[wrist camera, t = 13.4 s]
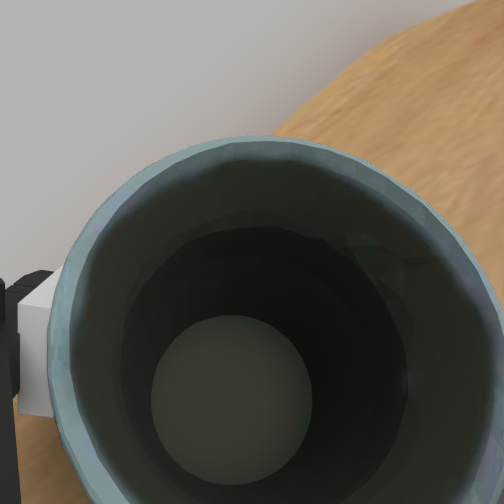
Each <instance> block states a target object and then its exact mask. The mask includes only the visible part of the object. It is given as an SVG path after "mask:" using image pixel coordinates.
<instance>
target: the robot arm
mask: <svg viewBox="0 0 504 504" xmlns="http://www.w3.org/2000/svg"><path fill="white" fill-rule="evenodd" d="M62 268H63V265H62V266H61V267H60V268H59V269H58V270H57V271H55V272H51V271H45V270H39V271H36V272H33V273H30V274H28V275H24V276H23V277H22V278H20V279H19V280H18V281H16V282H15V283H14V285H11V286H10V287H8V288H7V289H6V290H5V283H4V281H3V280H2V279H1V278H0V504H21V494H20V482H19V471H18V459H17V447H16V436H15V424H14V412H13V401H12V399H13V398H14V397H15V396H16V394H17V393H18V413H19V414H27V415H35V416H43V417H51V418H53V417H54V413H53V409H52V406H51V402H50V394H49V386H48V379H47V327H48V322H49V317H50V312H51V307H52V302H53V296H54V291H55V288H56V285H57V282H58V279H59V277H60V274H61V271H62Z"/></svg>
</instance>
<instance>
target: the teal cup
mask: <svg viewBox="0 0 504 504" xmlns="http://www.w3.org/2000/svg"><path fill="white" fill-rule="evenodd" d="M47 379H48V386H49V394H50V402H51V406H52V409H53V413H54V417H55V420H56V424H57V428H58V431H59V435H60V439H61V442H62V446H63V448H64V450H65V452H66V454H67V456H68V458H69V460H70V462H71V464H72V466H73V468H74V470H75V472H76V474H77V476H78V478H79V480H80V482H81V484H82V486H83V488H84V490H85V492H86V494H87V496H88V498H89V499H90V501H91V502H92V503H93V504H496V503H497V501H498V499H499V497H500V495H501V493H502V491H503V489H504V313H503V310H502V308H501V306H500V303H499V301H498V299H497V296H496V294H495V292H494V290H493V287H492V285H491V283H490V281H489V279H488V277H487V276H486V274H485V273H484V271H483V269H482V268H481V266H480V265H479V263H478V261H477V260H476V258H475V257H474V255H473V253H472V252H471V250H470V248H469V247H468V245H467V244H466V242H465V241H464V240H463V239H462V238H461V237H460V236H459V235H458V233H457V232H456V231H455V230H454V229H453V228H452V227H451V226H450V225H449V224H448V222H447V221H446V220H445V219H444V218H443V217H442V216H441V215H440V214H439V212H438V211H436V210H435V209H434V208H433V207H432V206H431V205H429V204H428V203H427V202H426V201H425V200H424V199H422V198H421V197H420V196H419V195H418V194H417V193H416V192H414V191H413V190H411V189H410V188H408V187H406V186H405V185H403V184H402V183H400V182H399V181H397V180H395V179H394V178H392V177H391V176H389V175H388V174H386V173H384V172H383V171H381V170H380V169H378V168H377V167H375V166H373V165H372V164H370V163H369V162H367V161H364V160H362V159H359V158H357V157H355V156H352V155H350V154H347V153H345V152H342V151H340V150H337V149H335V148H332V147H330V146H326V145H322V144H318V143H314V142H310V141H306V140H302V139H294V138H285V137H277V136H243V137H232V138H226V139H219V140H214V141H209V142H205V143H202V144H198V145H194V146H191V147H188V148H186V149H184V150H181V151H179V152H176V153H174V154H171V155H169V156H167V157H165V158H163V159H161V160H159V161H157V162H155V163H153V164H151V165H150V166H148V167H146V168H145V169H143V170H142V171H140V172H139V173H137V174H136V175H134V176H133V177H132V178H131V179H129V180H128V181H127V182H126V183H125V184H124V185H122V186H121V187H120V188H119V189H118V190H117V191H116V192H114V193H113V194H112V195H111V196H110V197H108V198H107V199H106V201H105V202H104V203H103V204H102V205H101V206H100V207H99V208H98V209H97V210H96V211H95V213H94V214H93V215H92V217H91V218H90V220H89V221H88V222H87V224H86V226H85V227H84V229H83V230H82V232H81V234H80V235H79V237H78V239H77V240H76V241H75V243H74V245H73V246H72V248H71V250H70V252H69V254H68V256H67V258H66V260H65V263H64V265H63V268H62V271H61V274H60V277H59V279H58V282H57V285H56V288H55V291H54V296H53V302H52V307H51V312H50V317H49V322H48V327H47Z"/></svg>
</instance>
